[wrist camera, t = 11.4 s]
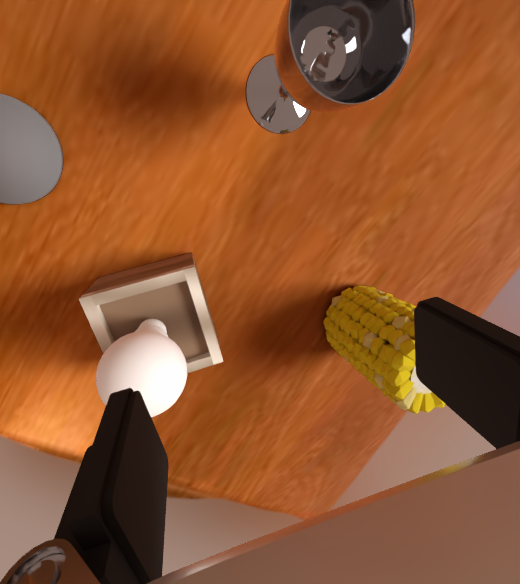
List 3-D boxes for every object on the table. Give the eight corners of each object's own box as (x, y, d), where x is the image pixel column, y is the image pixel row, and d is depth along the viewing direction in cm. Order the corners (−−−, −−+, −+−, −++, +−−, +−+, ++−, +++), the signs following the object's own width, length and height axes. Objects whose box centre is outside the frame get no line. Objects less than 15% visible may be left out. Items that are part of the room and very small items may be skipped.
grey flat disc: (-82, 125, 27) (-88, 124, 27) (15, 74, 28) (11, 72, 27) (-1, 221, 31) (-4, 222, 30) (84, 174, 31) (82, 174, 30)
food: (329, 274, 42) (388, 296, 45) (302, 362, 42) (364, 377, 45) (428, 282, 28) (502, 313, 31) (387, 416, 27) (467, 431, 31)
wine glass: (331, 106, 34) (435, 50, 20) (272, 154, 34) (335, 131, 20) (289, 29, 31) (377, -98, 17) (225, 82, 31) (260, -3, 17)
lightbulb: (134, 286, 29) (108, 342, 19) (197, 312, 31) (203, 376, 21) (107, 343, 30) (69, 425, 20) (169, 364, 32) (163, 449, 22)
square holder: (97, 277, 34) (78, 298, 28) (191, 252, 35) (194, 266, 29) (131, 358, 37) (121, 394, 31) (216, 332, 39) (223, 361, 32)
